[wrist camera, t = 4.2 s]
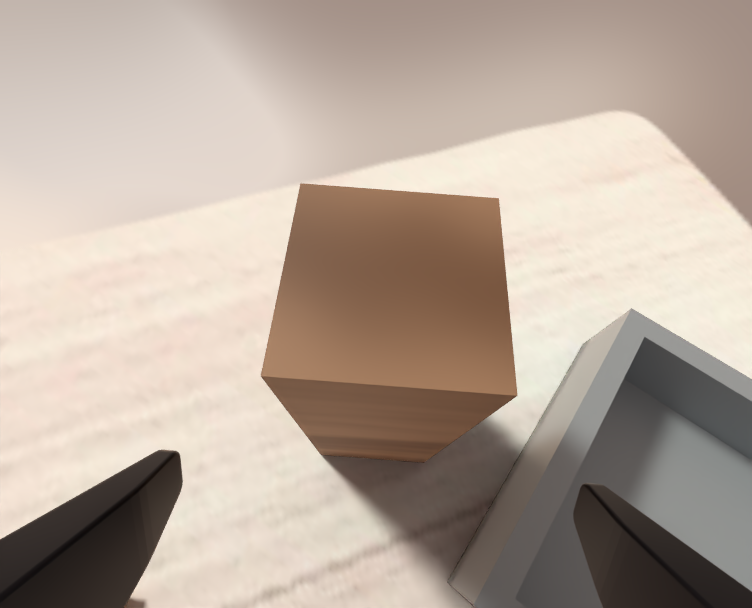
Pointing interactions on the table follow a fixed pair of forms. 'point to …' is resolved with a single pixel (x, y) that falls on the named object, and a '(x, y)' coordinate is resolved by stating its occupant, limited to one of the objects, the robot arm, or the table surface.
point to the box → (621, 468)
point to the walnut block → (391, 321)
